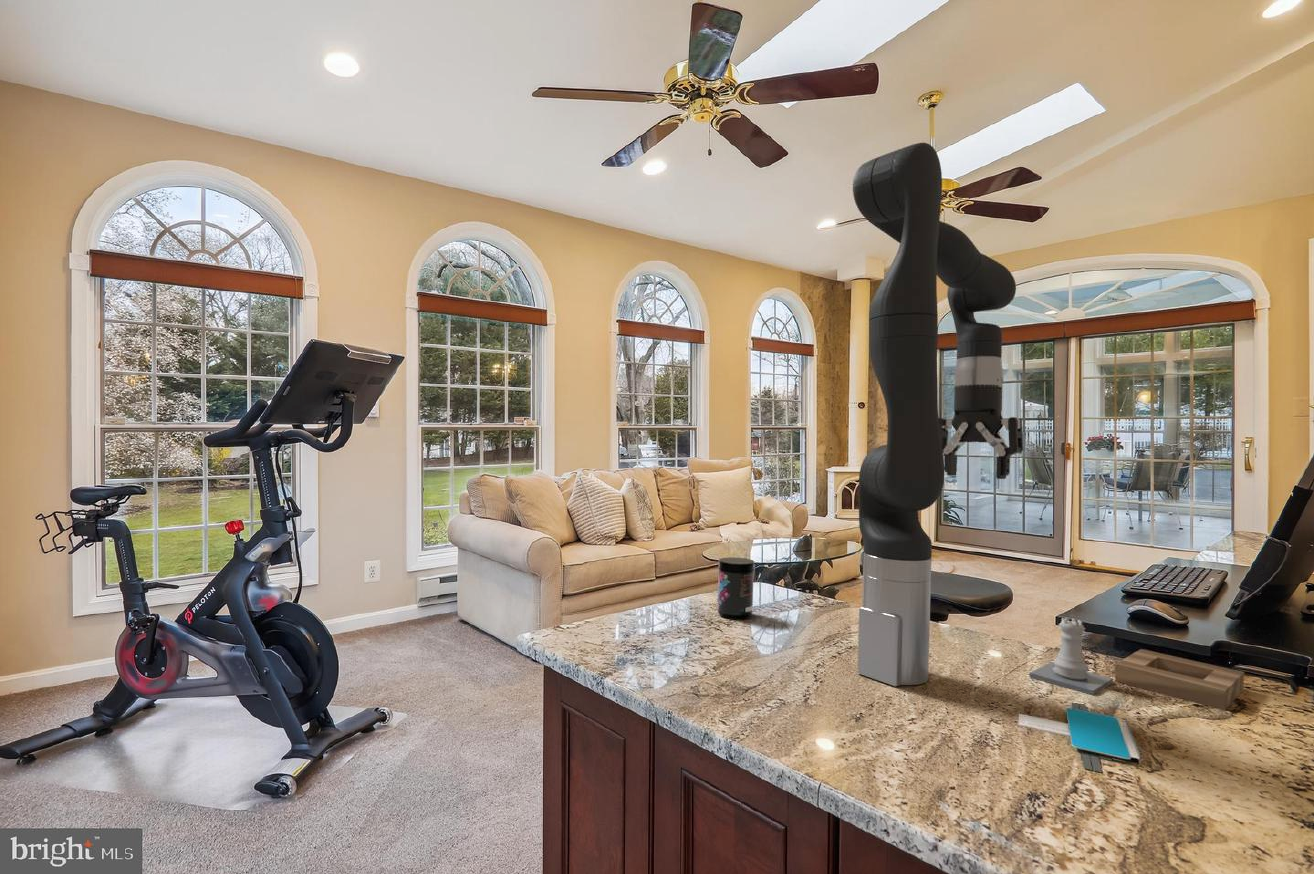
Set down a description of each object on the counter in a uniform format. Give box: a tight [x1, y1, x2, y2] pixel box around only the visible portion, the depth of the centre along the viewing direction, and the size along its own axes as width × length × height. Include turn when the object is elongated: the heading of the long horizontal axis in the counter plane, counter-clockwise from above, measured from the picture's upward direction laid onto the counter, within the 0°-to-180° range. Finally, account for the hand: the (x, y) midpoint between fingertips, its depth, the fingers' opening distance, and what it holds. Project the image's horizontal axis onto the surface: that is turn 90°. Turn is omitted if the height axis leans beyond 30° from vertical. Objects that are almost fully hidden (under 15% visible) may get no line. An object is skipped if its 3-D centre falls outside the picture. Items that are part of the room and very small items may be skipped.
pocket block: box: [1114, 648, 1245, 711], centre depth 91 cm, size 12×12×2 cm
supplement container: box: [717, 556, 755, 620], centre depth 121 cm, size 7×7×10 cm
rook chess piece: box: [1052, 617, 1090, 680], centre depth 92 cm, size 4×4×8 cm
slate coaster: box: [1028, 661, 1114, 696], centre depth 92 cm, size 8×8×1 cm
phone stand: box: [1018, 702, 1145, 773], centre depth 74 cm, size 20×12×2 cm, turn 150°
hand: (975, 477), depth 111 cm, fingers open, 8 cm apart
